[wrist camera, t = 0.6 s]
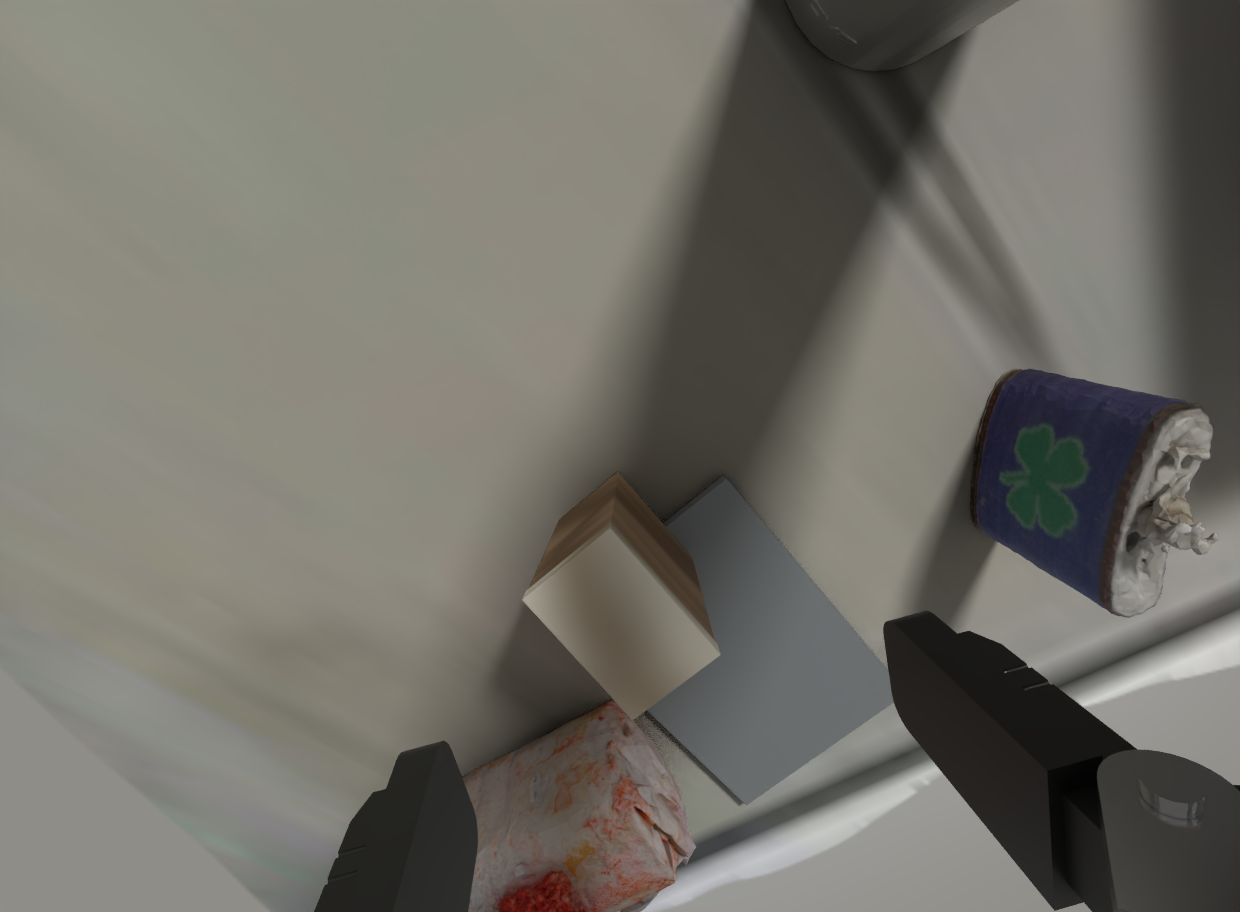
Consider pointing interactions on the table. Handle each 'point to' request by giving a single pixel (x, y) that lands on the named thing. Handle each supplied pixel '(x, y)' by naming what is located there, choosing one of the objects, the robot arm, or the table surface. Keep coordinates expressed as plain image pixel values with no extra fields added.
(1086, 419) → the flask
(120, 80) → the table surface
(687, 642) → the wooden block
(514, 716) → the table surface
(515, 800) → the food item
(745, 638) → the mat
